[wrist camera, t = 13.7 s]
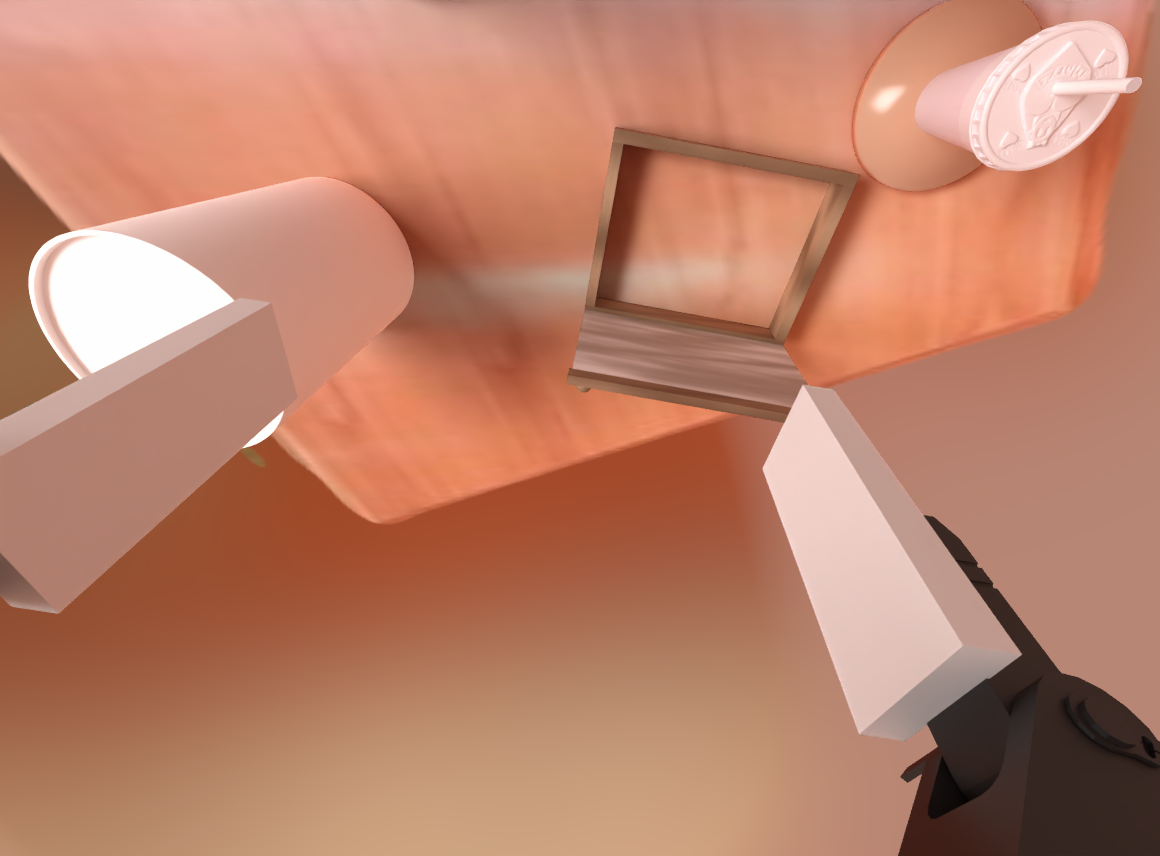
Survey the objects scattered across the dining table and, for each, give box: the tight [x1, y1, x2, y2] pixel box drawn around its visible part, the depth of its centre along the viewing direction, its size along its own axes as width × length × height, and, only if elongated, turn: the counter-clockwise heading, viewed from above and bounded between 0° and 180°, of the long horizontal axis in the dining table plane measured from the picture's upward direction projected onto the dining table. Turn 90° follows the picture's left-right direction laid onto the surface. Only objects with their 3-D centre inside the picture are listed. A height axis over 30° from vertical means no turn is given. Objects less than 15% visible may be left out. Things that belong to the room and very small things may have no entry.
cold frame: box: [567, 127, 860, 423], centre depth 34 cm, size 16×18×15 cm
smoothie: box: [915, 20, 1142, 171], centre depth 26 cm, size 6×6×14 cm
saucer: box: [852, 0, 1041, 191], centre depth 32 cm, size 11×11×1 cm
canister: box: [29, 177, 414, 448], centre depth 34 cm, size 14×14×20 cm
